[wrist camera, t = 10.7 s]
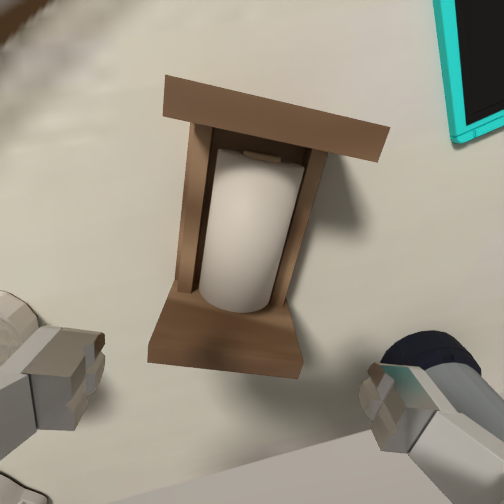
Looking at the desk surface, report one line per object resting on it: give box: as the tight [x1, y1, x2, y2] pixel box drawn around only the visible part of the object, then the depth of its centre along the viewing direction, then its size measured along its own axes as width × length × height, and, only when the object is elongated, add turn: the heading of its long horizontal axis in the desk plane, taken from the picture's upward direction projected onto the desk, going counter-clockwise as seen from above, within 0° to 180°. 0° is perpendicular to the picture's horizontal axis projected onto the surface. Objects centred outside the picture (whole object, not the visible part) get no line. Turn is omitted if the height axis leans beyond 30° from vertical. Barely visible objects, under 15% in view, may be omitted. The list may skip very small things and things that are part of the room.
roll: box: [199, 149, 305, 313], centre depth 18 cm, size 10×5×5 cm, turn 169°
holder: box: [147, 75, 390, 379], centre depth 17 cm, size 14×9×8 cm, turn 169°
